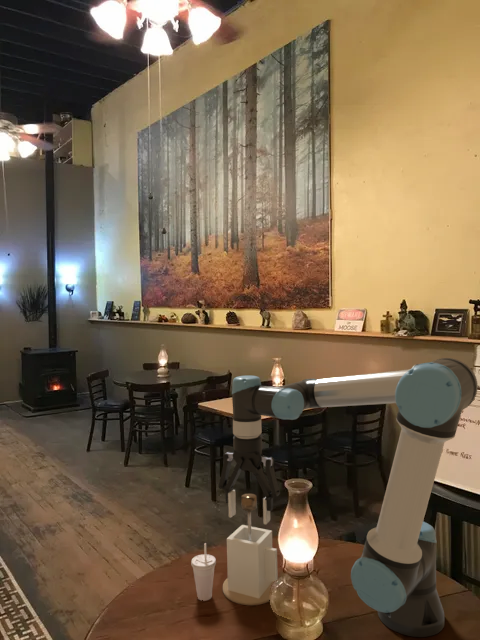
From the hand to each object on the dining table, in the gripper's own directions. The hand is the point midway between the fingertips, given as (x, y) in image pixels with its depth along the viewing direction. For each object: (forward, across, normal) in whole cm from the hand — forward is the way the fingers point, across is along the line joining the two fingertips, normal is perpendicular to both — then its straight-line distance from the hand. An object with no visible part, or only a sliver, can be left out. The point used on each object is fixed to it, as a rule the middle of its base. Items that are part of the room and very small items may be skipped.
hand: (249, 518), depth 135 cm
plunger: (+16, 0, 0) cm, 16 cm away
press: (+19, 0, 0) cm, 19 cm away
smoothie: (+19, +9, +8) cm, 23 cm away
